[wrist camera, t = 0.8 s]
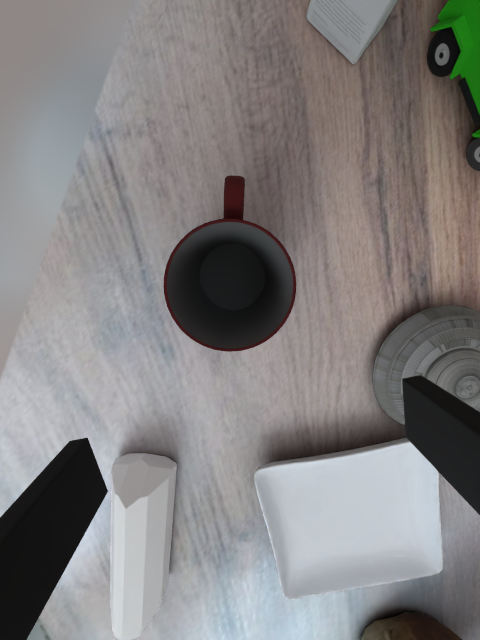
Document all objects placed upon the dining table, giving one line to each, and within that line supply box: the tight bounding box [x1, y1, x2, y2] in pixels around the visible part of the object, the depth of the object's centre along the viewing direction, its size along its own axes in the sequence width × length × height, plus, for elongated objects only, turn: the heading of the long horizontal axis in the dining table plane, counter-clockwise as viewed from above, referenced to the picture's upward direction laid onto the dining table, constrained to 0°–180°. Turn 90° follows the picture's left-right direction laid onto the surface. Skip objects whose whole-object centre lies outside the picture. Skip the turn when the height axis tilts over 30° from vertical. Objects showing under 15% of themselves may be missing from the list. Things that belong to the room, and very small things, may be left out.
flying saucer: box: [372, 305, 480, 426], centre depth 28 cm, size 15×15×6 cm
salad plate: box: [254, 438, 443, 599], centre depth 34 cm, size 21×21×3 cm
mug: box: [164, 176, 296, 351], centre depth 23 cm, size 12×9×11 cm
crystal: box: [110, 453, 177, 640], centre depth 33 cm, size 7×7×24 cm
